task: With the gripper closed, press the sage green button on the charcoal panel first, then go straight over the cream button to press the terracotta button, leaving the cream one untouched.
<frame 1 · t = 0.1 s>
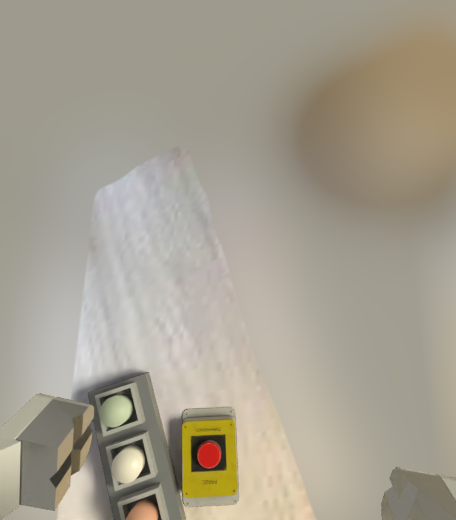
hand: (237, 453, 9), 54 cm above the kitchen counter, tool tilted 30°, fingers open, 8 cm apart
panel: (138, 452, 58), on the kitchen counter
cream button: (128, 463, 52), point 6 cm above the kitchen counter, slide at 0.0 cm
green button: (116, 410, 54), point 6 cm above the kitchen counter, slide at 0.0 cm
emergency button: (210, 453, 59), on the kitchen counter
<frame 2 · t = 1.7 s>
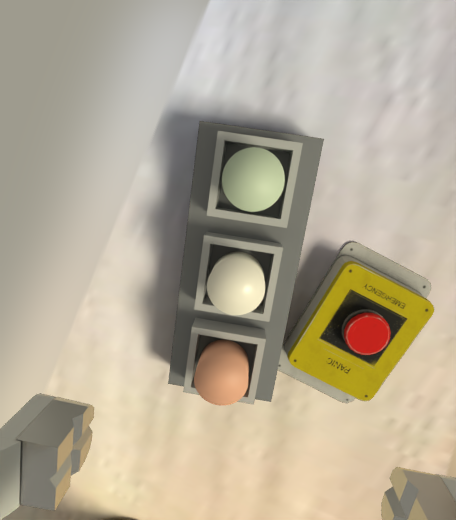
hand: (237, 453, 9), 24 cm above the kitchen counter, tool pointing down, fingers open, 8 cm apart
panel: (239, 265, 33), on the kitchen counter
terracotta button: (222, 371, 29), point 6 cm above the kitchen counter, slide at 0.0 cm
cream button: (236, 282, 27), point 6 cm above the kitchen counter, slide at 0.0 cm
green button: (253, 180, 25), point 6 cm above the kitchen counter, slide at 0.0 cm
emergency button: (347, 323, 34), on the kitchen counter
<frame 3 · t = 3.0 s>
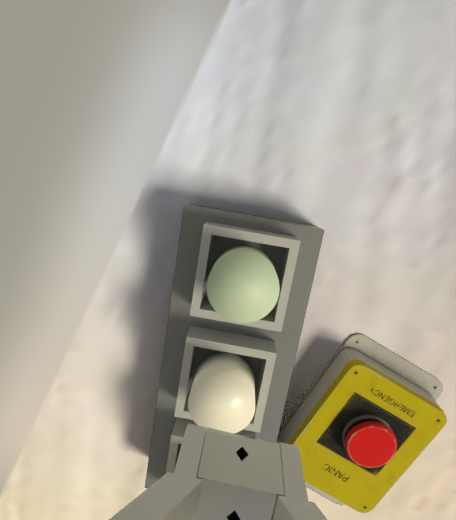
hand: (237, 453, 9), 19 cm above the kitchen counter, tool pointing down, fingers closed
panel: (228, 353, 29), on the kitchen counter
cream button: (223, 392, 24), point 6 cm above the kitchen counter, slide at 0.0 cm
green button: (243, 282, 22), point 6 cm above the kitchen counter, slide at 0.0 cm
emergency button: (347, 418, 31), on the kitchen counter
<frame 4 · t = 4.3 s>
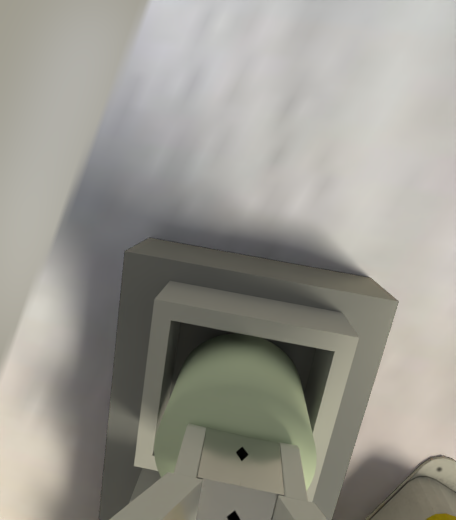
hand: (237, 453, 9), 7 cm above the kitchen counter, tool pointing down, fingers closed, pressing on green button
panel: (216, 474, 18), on the kitchen counter
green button: (236, 419, 11), point 6 cm above the kitchen counter, slide at 0.2 cm, touching gripper
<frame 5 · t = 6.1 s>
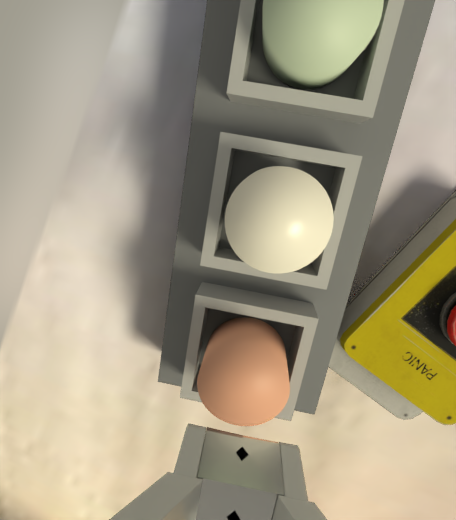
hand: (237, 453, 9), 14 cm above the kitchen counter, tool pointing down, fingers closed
panel: (272, 203, 21), on the kitchen counter
terracotta button: (244, 369, 18), point 6 cm above the kitchen counter, slide at 0.0 cm
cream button: (276, 216, 15), point 6 cm above the kitchen counter, slide at 0.0 cm
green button: (315, 23, 14), point 5 cm above the kitchen counter, slide at 1.0 cm
emergency button: (432, 305, 22), on the kitchen counter
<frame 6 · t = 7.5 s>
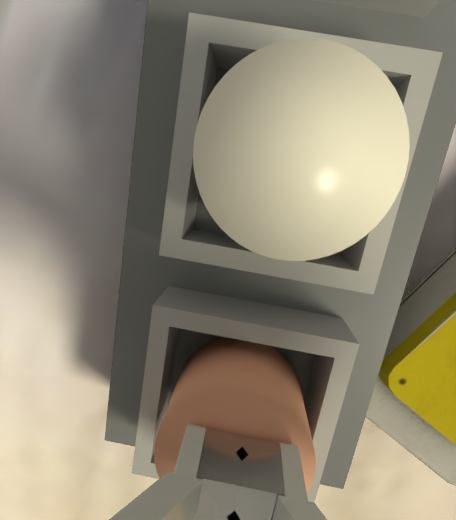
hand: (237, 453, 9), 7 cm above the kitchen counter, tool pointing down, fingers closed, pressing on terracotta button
panel: (276, 169, 14), on the kitchen counter
terracotta button: (236, 423, 11), point 5 cm above the kitchen counter, slide at 0.4 cm, touching gripper
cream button: (290, 161, 8), point 6 cm above the kitchen counter, slide at 0.0 cm
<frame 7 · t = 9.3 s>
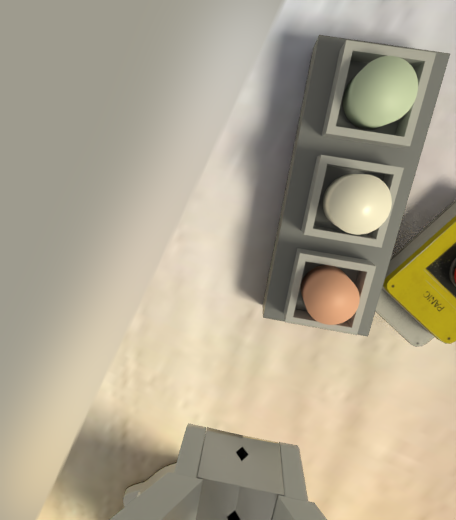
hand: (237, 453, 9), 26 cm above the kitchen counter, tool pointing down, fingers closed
panel: (338, 198, 32), on the kitchen counter
terracotta button: (328, 294, 29), point 5 cm above the kitchen counter, slide at 1.1 cm
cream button: (355, 203, 26), point 6 cm above the kitchen counter, slide at 0.0 cm
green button: (378, 95, 25), point 5 cm above the kitchen counter, slide at 1.0 cm
emergency button: (442, 267, 34), on the kitchen counter
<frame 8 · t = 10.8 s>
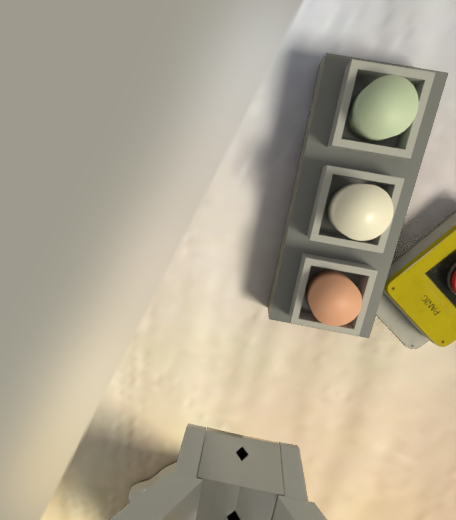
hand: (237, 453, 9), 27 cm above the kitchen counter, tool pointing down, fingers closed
panel: (341, 205, 34), on the kitchen counter
terracotta button: (332, 296, 31), point 5 cm above the kitchen counter, slide at 1.1 cm
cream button: (358, 211, 28), point 6 cm above the kitchen counter, slide at 0.0 cm
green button: (381, 110, 27), point 5 cm above the kitchen counter, slide at 1.0 cm
emergency button: (439, 274, 35), on the kitchen counter
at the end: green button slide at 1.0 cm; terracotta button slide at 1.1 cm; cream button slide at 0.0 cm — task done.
